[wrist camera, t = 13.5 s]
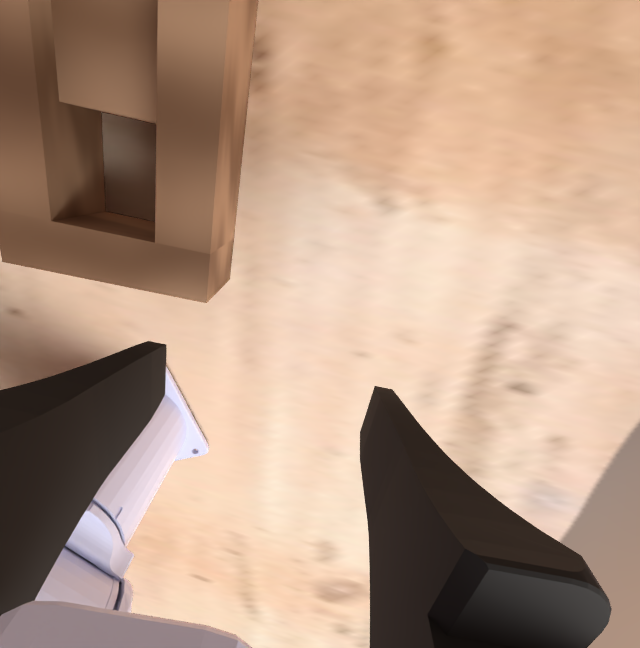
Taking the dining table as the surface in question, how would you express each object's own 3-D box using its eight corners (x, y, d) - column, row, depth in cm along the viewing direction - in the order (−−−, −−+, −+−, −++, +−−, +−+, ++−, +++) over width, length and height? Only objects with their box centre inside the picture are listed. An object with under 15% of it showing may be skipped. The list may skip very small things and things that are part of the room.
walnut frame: (229, 279, 21) (206, 303, 18) (63, 245, 21) (2, 261, 17) (265, -76, 15) (241, -160, 11) (27, -136, 15) (-83, -245, 11)
